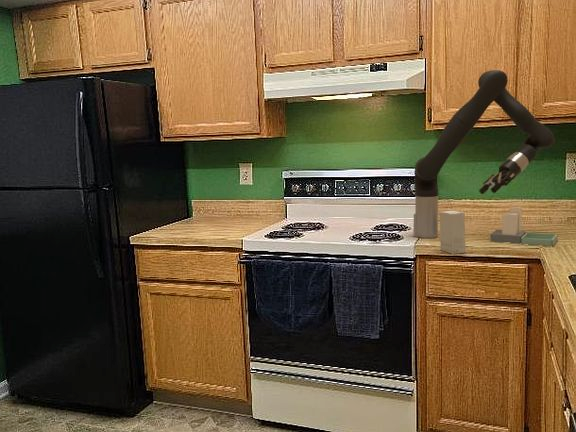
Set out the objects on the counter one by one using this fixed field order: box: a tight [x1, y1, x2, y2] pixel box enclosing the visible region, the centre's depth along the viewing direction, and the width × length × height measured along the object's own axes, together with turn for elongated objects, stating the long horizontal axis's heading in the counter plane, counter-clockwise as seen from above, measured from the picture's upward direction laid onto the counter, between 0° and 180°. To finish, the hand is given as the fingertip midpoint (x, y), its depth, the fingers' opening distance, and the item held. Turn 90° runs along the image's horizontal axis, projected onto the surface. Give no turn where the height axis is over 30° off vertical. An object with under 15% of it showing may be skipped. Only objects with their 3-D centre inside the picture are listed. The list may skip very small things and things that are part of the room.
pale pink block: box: [501, 212, 518, 235], centre depth 205 cm, size 5×4×8 cm
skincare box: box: [439, 210, 467, 255], centre depth 191 cm, size 8×6×15 cm
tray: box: [520, 231, 559, 248], centre depth 202 cm, size 11×13×2 cm
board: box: [489, 229, 527, 244], centre depth 208 cm, size 11×11×3 cm
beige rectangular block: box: [508, 205, 523, 233], centre depth 208 cm, size 4×4×10 cm
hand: (486, 192), depth 209 cm, fingers open, 8 cm apart
